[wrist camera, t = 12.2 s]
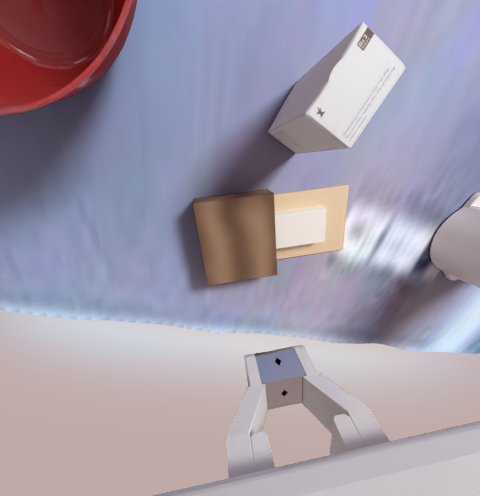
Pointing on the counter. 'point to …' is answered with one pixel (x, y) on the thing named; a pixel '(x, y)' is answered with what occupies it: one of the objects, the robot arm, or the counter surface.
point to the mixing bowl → (57, 48)
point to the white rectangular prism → (300, 226)
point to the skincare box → (338, 95)
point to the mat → (335, 217)
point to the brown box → (237, 235)
